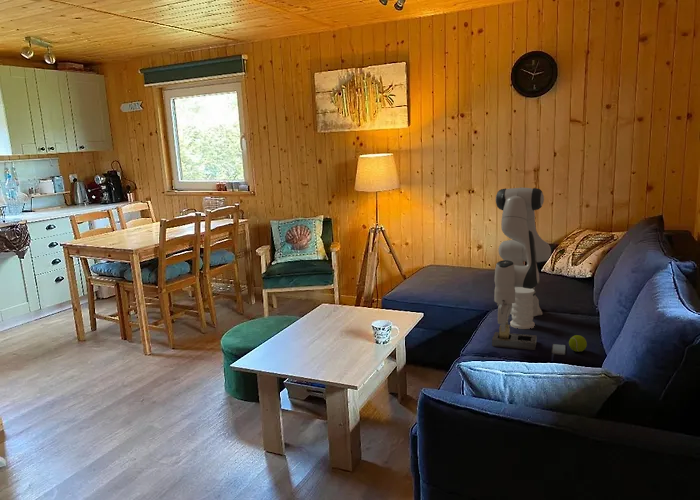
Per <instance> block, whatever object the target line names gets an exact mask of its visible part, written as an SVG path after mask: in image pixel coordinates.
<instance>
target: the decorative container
mask: <svg viewBox="0 0 700 500" xmlns="http://www.w3.org/2000/svg"><path fill="white" fill-rule="evenodd" d="M534 293H535V290H534V289H528V288H523V287H516V288H515V303H512V315H511V321H510V322H509V323H510V324H509V325H510V327H512V328H514V329H517V328H518V330H531V329H533V328H535V327H536V325H535V323H536V322H534V316H533V305H534V304H533V299H534V297H533V294H534ZM534 326H535V327H534ZM530 328H531V329H530Z"/></svg>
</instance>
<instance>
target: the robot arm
mask: <svg viewBox="0 0 700 500" xmlns="http://www.w3.org/2000/svg"><path fill="white" fill-rule="evenodd" d="M544 201H545V196H544V193H543V191H542V190H541V189H540V188H537V187H533V188H531V187H513V188H511V187H510V188H501V189H499V190H498V191H497V193H496V195H495V204H496V208H498V209H499V210H501V211H502V213H501V214H502V216H501V231H502V233H503V235H505V236H506V237H507V238H508V239H509V240H503V241H501V242H500V244H499V246H498V255H499V257H500V258H501V259H502V260H499V261H497V262H496V264H495V269H494V272H493V273H494V275H493V281H494V284H495V285H494V286H495V287H494V291H493V292H494V299H493V302H495V303H496V305H497V306H498V307H497V324H498V325H499V327H500V326H501V331H502V332H505V325H509V318H510V315H511V316H512V303H515V288H516V287H523V288H528V289H534V290H535V293H534V294H533V297H534V299H533V304H534V305H533V317H536V316H542V315H544V314H543V311H542V309H541V307H540V305H539V303H540V302H539V301H540V300H539V298H538V297H537V296H536V295H537V288H536V287H537V285H539V283H540V272H539V269H538V263H541V262H542V263H543V262H547V261H548V260H549V259H550V257H551V256H552V248H551V246H550V245H549V243H548V242H547V241H545V240H544V239H543V238H542V237H541V236H540V235H539V233H538V232H537V226H536V215H535V214H536V213H535V211H537V210H540V209H541V208H542V207H543V205H544ZM524 262H526V265H525V264H524Z"/></svg>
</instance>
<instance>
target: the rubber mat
mask: <svg viewBox="0 0 700 500" xmlns="http://www.w3.org/2000/svg"><path fill="white" fill-rule="evenodd" d="M551 355H562V356H565V355H566V345H565V344H554V343H552V347H551Z"/></svg>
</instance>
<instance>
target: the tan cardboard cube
mask: <svg viewBox="0 0 700 500" xmlns="http://www.w3.org/2000/svg"><path fill="white" fill-rule="evenodd" d="M510 327H511V326H510V324H507V325H505V332H502V331H501V326H500V325H499V327H498V329H499V330H498V332H499V338H501V339H510V333H511V328H510Z"/></svg>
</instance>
